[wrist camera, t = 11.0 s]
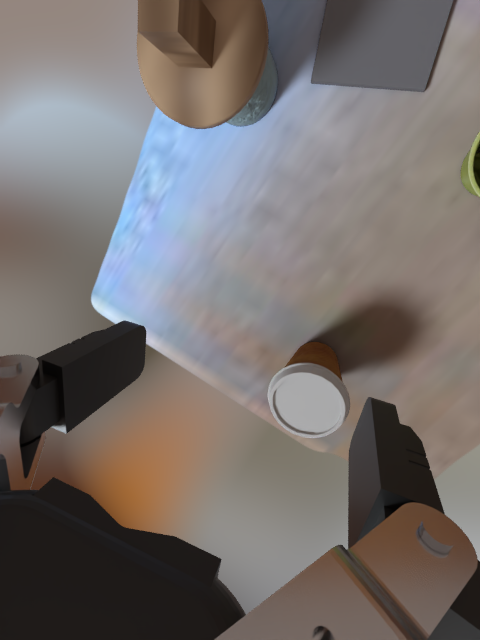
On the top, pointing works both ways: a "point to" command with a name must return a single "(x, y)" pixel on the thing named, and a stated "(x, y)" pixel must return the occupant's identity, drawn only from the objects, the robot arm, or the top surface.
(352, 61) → the mat
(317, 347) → the disposable coffee cup
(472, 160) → the plant pot
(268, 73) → the grey green tapered cylinder
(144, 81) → the lid
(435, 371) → the top surface
